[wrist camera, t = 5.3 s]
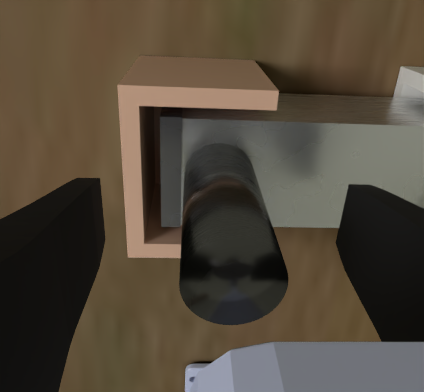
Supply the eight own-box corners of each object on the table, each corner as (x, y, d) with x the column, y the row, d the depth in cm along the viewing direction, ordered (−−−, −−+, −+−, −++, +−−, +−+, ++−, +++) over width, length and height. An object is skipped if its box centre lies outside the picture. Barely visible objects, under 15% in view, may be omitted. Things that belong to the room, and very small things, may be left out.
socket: (242, 191, 20) (258, 258, 15) (144, 188, 20) (127, 257, 15) (254, 60, 17) (278, 90, 12) (139, 55, 17) (117, 85, 12)
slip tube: (421, 184, 19) (611, 350, 10) (167, 179, 18) (145, 351, 10) (448, 97, 17) (707, 212, 9) (167, 87, 17) (138, 200, 8)
